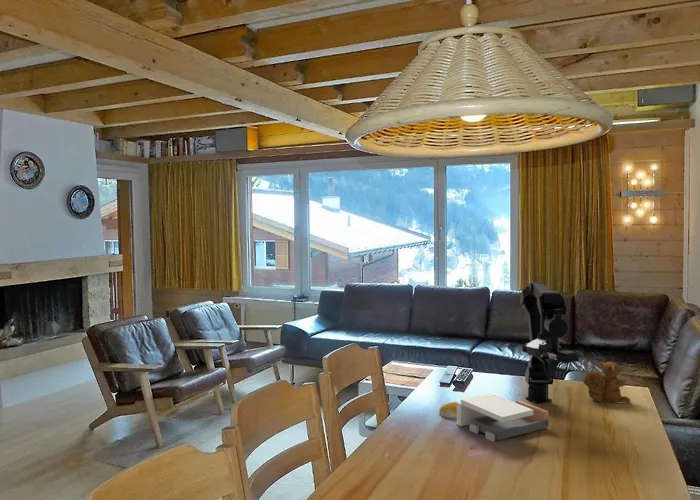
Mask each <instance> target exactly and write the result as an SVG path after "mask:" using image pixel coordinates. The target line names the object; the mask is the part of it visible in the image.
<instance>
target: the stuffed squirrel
mask: <svg viewBox="0 0 700 500" xmlns="http://www.w3.org/2000/svg"><path fill="white" fill-rule="evenodd" d="M599 365H600V366H601V368H602V373H600V372H599V371H593V372H592V371H590V372H587V373H585V375H584V376H581V377H582V378H583V380H582V381H583V385H585V386H587V388H588V394H589V397H590V398H591V399H593V400H594V401H595V402H598V401H599V402H598V403H602V402H607V401H610V402H609V403H613V402H629V401H630V402H631V399H630V398H629V397H628V396H623V395H621V389H620V388H622V387H624V386H625V385H626V382H627V381H626V380H625V379H624V378H621V379H618V377H617V376H619V374H620V373H621V375H623V374H624V372H623V370H622V369H621V367H620V366H619V364H617V363H615V362H614V361H613V362H612V361H606V362H603V361H600V362H599ZM601 401H602V402H601ZM630 402H629V403H630Z"/></svg>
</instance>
